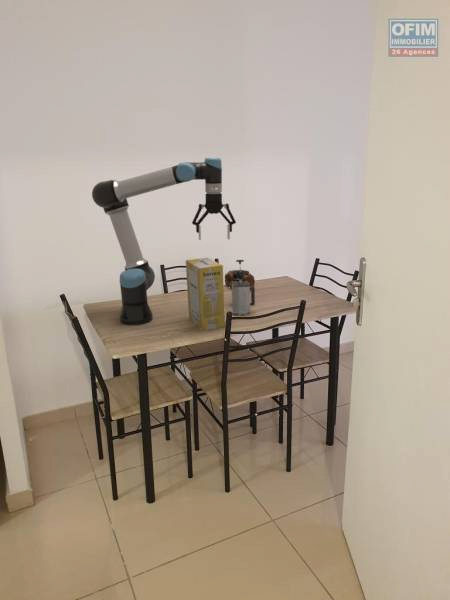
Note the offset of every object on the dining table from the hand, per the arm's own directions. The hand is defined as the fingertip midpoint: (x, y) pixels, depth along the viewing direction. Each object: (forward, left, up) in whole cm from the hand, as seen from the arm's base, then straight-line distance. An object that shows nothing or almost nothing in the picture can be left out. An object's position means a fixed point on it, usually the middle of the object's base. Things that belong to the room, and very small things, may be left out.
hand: (214, 239), depth 219 cm
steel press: (+12, -6, -35) cm, 38 cm away
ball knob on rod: (+11, -6, -29) cm, 31 cm away
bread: (+17, +38, -36) cm, 55 cm away
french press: (+13, +8, -36) cm, 39 cm away
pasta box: (-7, -16, -36) cm, 40 cm away
